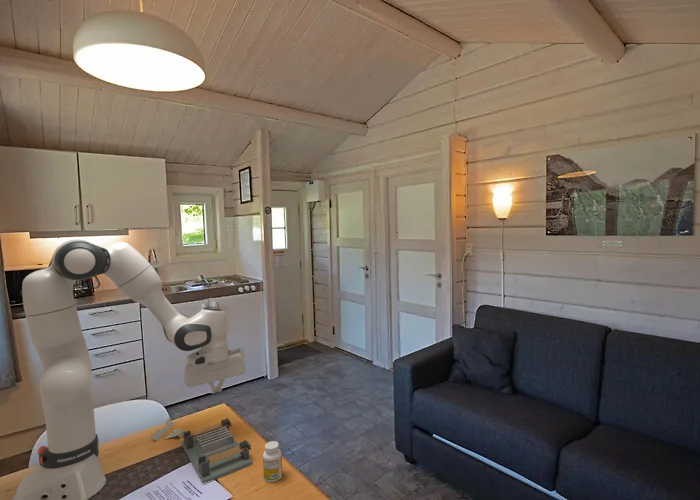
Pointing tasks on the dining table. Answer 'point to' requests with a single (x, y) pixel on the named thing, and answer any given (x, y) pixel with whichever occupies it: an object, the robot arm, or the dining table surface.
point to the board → (217, 463)
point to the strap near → (228, 453)
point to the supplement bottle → (272, 462)
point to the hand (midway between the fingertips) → (216, 392)
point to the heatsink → (214, 442)
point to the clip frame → (202, 459)
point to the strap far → (210, 428)
